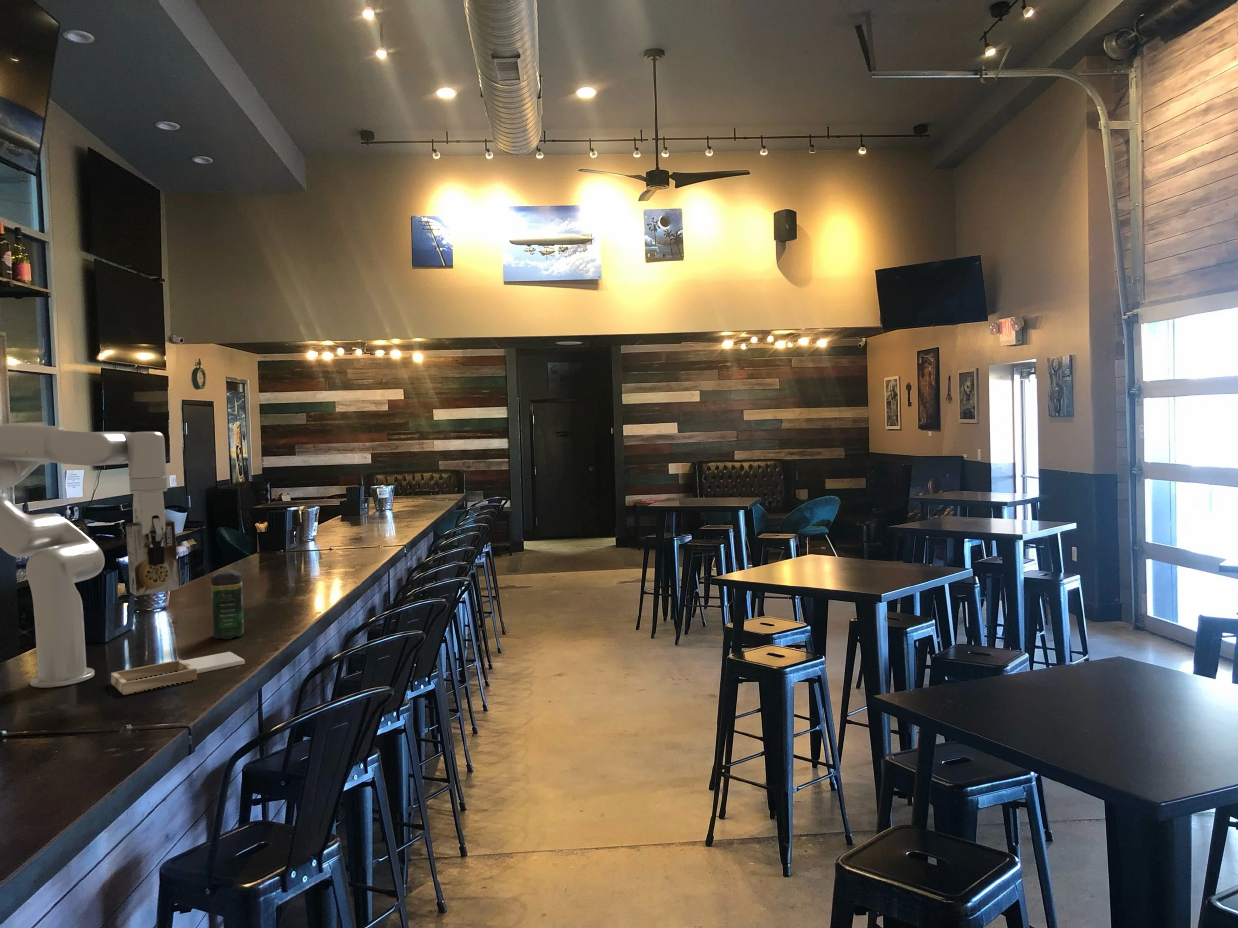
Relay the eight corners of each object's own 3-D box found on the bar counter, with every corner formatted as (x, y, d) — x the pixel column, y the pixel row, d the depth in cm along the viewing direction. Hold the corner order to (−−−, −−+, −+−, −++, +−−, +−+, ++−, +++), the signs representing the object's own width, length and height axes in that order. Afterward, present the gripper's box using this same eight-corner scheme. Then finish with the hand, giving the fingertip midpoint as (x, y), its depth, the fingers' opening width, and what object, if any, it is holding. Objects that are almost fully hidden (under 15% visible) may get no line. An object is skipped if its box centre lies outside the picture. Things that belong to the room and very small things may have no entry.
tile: (183, 664, 210) (183, 660, 210) (229, 655, 217) (229, 651, 217) (196, 673, 201) (196, 669, 201) (244, 663, 209) (244, 659, 209)
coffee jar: (243, 637, 235) (240, 571, 234) (212, 641, 232) (208, 574, 232) (245, 630, 244) (242, 566, 243) (215, 633, 241) (211, 568, 241)
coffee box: (172, 586, 201) (168, 518, 200) (179, 589, 196) (176, 520, 196) (128, 592, 195) (124, 522, 194) (135, 596, 190) (131, 524, 190)
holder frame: (111, 683, 195) (110, 672, 195) (182, 669, 205) (181, 659, 205) (123, 694, 186) (123, 683, 186) (197, 679, 196) (196, 668, 196)
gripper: (121, 485, 199) (126, 561, 200) (138, 488, 186) (143, 569, 187) (157, 483, 204) (161, 557, 205) (176, 485, 191) (180, 564, 191)
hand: (152, 562), depth 196 cm, fingers closed on coffee box, 6 cm apart
